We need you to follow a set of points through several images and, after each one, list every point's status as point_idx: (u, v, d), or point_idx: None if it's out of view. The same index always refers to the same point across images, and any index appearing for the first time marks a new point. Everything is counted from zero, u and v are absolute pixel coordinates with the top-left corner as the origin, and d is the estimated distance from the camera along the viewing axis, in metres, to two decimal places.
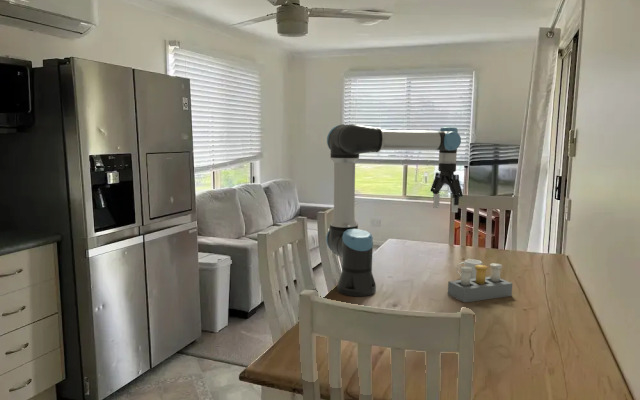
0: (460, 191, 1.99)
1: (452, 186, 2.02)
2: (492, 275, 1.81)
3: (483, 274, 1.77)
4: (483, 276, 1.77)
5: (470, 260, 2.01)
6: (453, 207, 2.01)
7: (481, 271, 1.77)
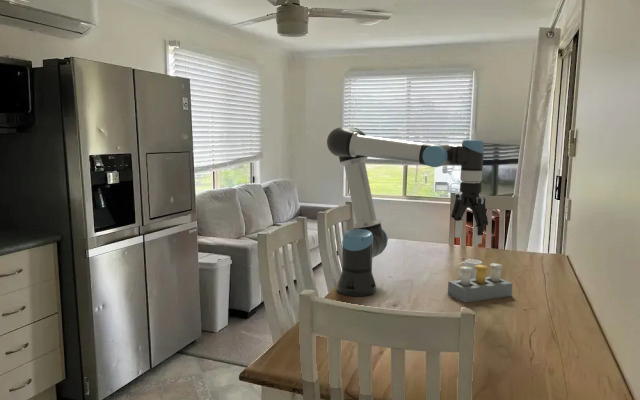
0: (485, 219, 1.66)
1: (476, 212, 1.68)
2: (492, 275, 1.81)
3: (483, 274, 1.77)
4: (483, 276, 1.77)
5: (470, 260, 2.01)
6: (476, 238, 1.68)
7: (481, 271, 1.77)
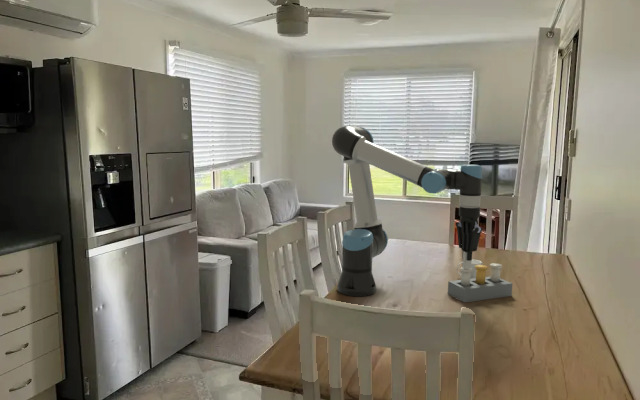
0: (475, 246, 1.71)
1: (470, 238, 1.72)
2: (492, 275, 1.81)
3: (483, 274, 1.77)
4: (483, 276, 1.77)
5: None
6: (466, 263, 1.75)
7: (481, 271, 1.77)
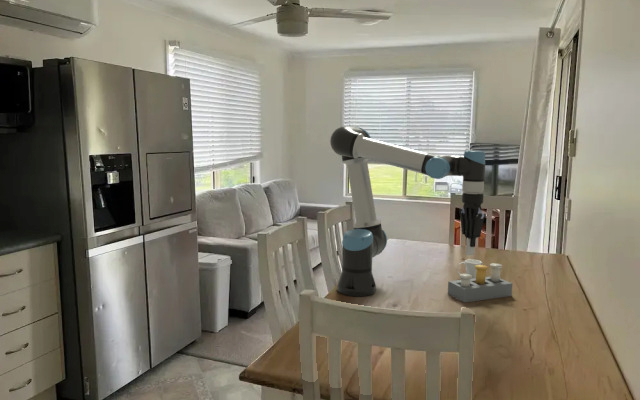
0: (479, 232, 1.71)
1: (473, 224, 1.72)
2: (492, 275, 1.81)
3: (483, 274, 1.77)
4: (483, 276, 1.77)
5: (470, 260, 2.01)
6: (469, 249, 1.74)
7: (481, 271, 1.77)
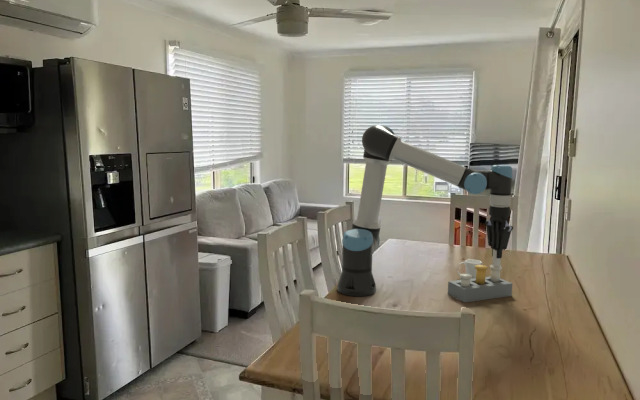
0: (506, 244, 1.76)
1: (500, 236, 1.77)
2: (492, 276, 1.81)
3: (483, 274, 1.77)
4: (483, 276, 1.77)
5: (470, 260, 2.01)
6: (495, 260, 1.79)
7: (481, 271, 1.77)
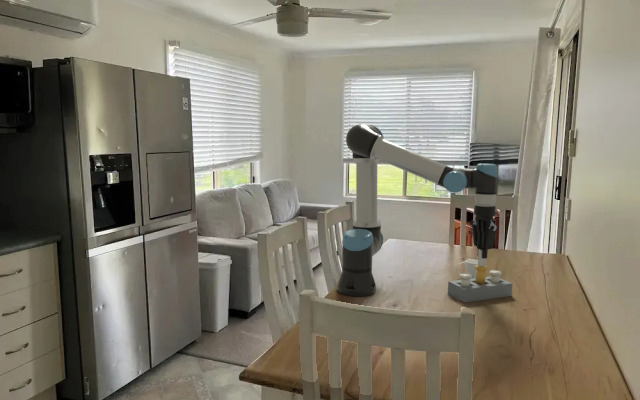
0: (491, 244, 1.73)
1: (485, 236, 1.75)
2: None
3: (483, 274, 1.77)
4: (483, 276, 1.77)
5: (470, 260, 2.01)
6: (481, 260, 1.77)
7: (481, 271, 1.77)
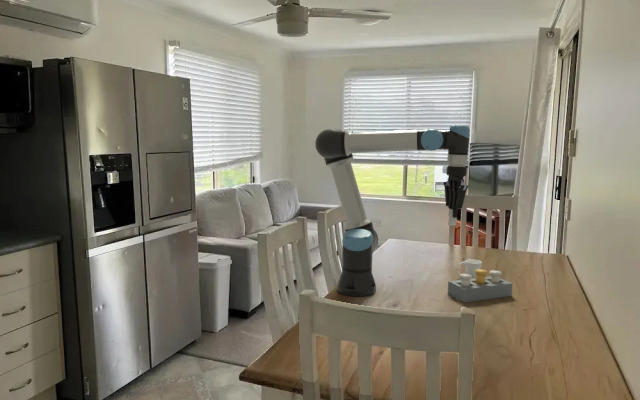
0: (461, 203, 1.79)
1: (456, 196, 1.81)
2: None
3: (483, 278, 1.77)
4: (483, 280, 1.77)
5: (470, 260, 2.01)
6: (451, 220, 1.83)
7: (481, 275, 1.77)
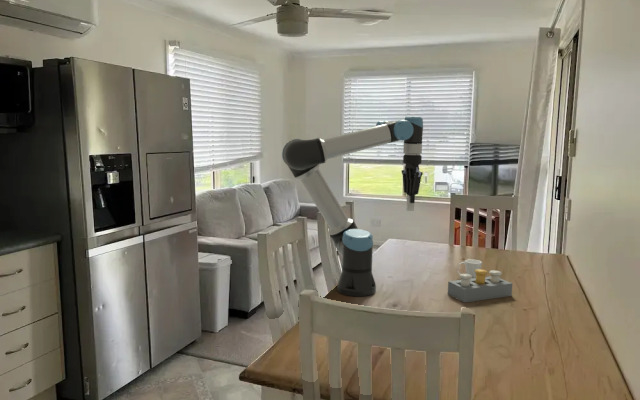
0: (417, 189, 1.92)
1: (412, 182, 1.93)
2: None
3: (483, 278, 1.77)
4: (483, 280, 1.77)
5: (470, 260, 2.01)
6: (409, 205, 1.95)
7: (481, 275, 1.77)
